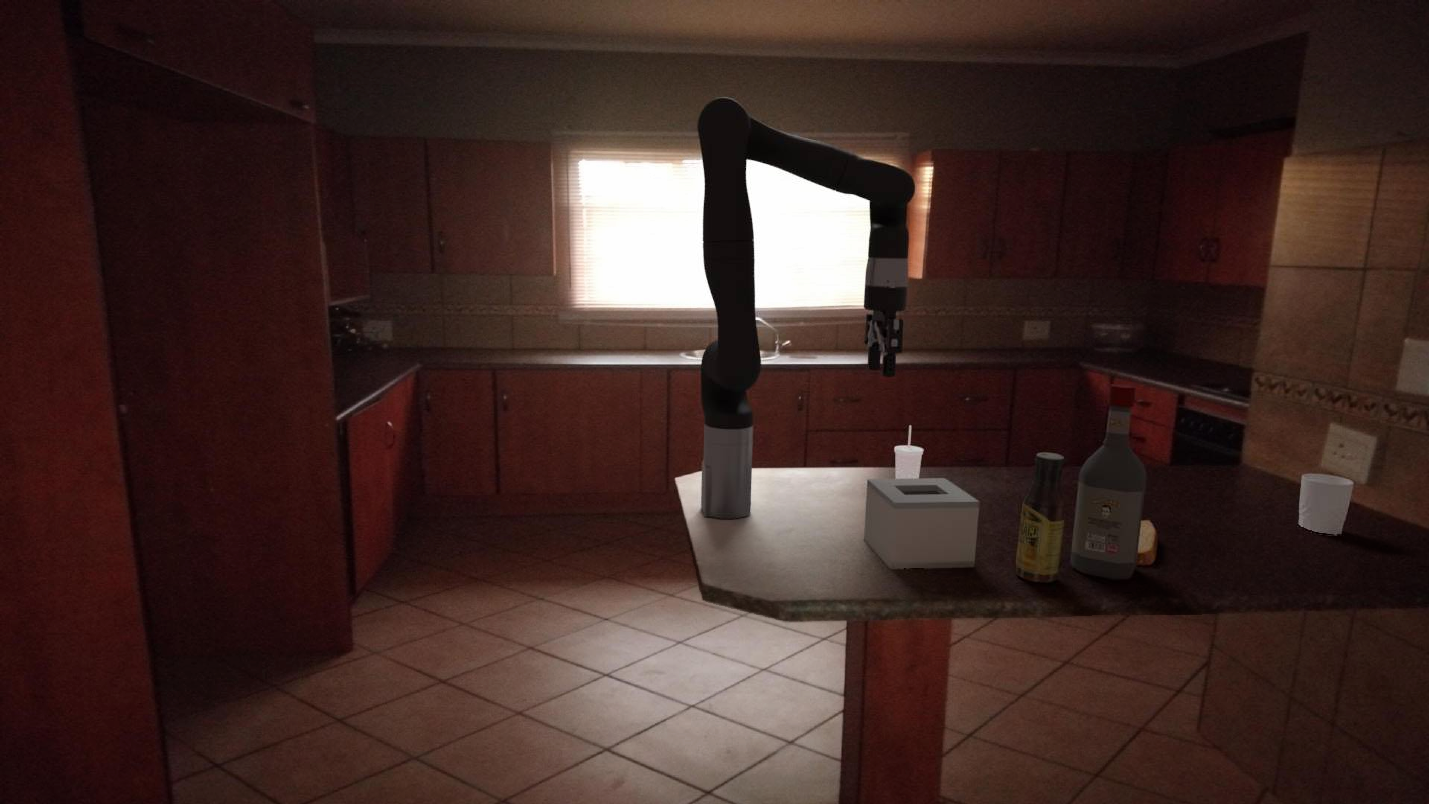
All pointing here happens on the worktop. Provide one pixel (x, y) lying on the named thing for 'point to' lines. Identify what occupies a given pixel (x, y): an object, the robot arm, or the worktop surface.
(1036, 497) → the sauce bottle
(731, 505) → the robot arm
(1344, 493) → the white cup
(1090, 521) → the liquor
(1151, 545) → the slice of bread
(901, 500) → the grey box with opening
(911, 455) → the beverage cup
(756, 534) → the worktop surface
